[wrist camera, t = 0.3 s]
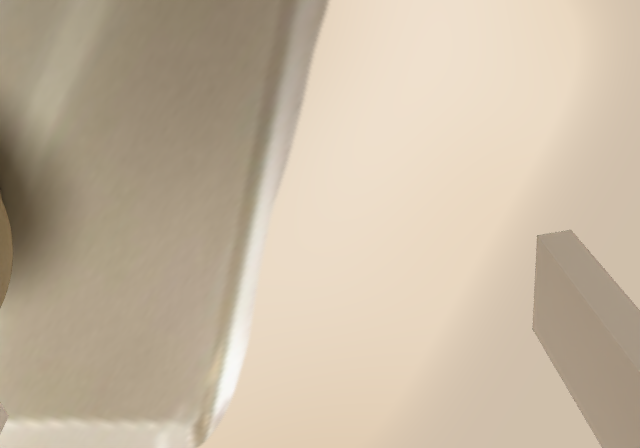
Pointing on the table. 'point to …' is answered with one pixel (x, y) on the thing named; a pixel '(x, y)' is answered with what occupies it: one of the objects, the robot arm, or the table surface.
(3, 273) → the planter bowl
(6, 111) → the table surface
